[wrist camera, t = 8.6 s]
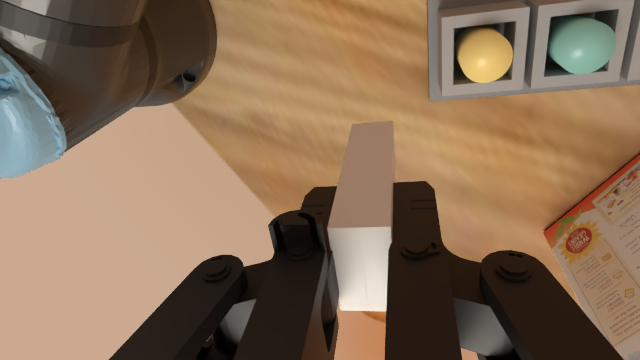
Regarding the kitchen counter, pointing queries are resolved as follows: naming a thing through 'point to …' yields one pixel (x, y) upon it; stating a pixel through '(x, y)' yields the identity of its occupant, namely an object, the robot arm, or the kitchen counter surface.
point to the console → (528, 46)
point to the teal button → (580, 43)
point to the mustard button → (483, 53)
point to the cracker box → (605, 257)
